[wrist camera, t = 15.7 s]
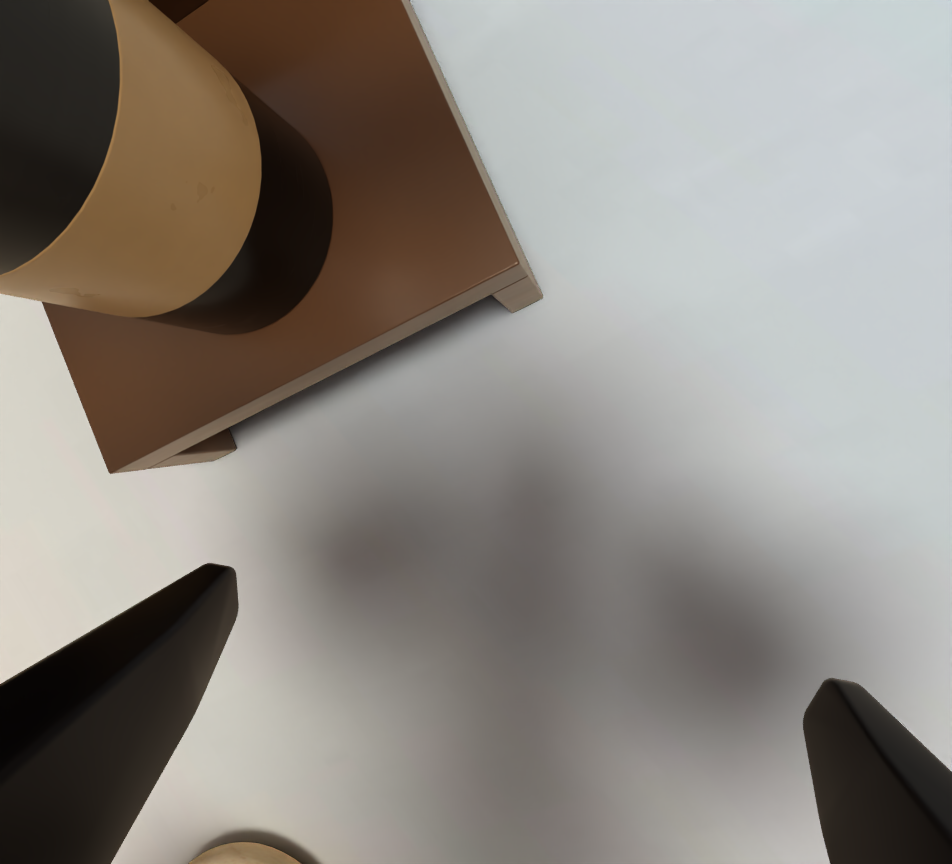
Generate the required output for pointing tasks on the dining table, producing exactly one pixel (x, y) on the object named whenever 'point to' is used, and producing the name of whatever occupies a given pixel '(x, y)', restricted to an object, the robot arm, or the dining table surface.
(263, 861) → the stacking toy
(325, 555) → the dining table surface
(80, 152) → the canister
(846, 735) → the robot arm
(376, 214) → the drawer
